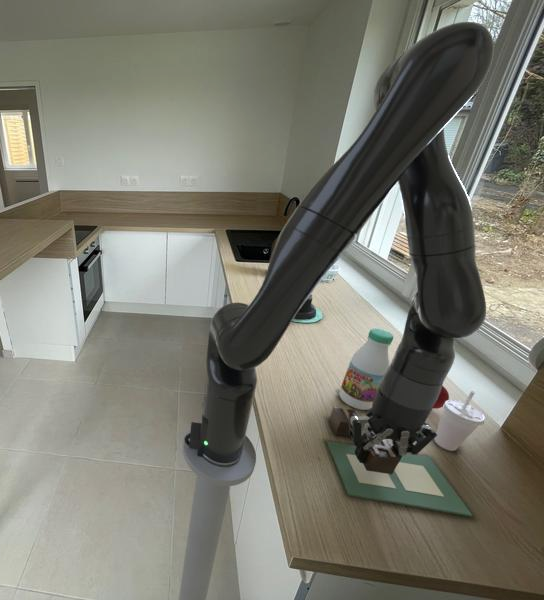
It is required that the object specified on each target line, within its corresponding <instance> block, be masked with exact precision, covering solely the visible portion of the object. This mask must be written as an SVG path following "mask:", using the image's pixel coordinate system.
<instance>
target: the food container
mask: <svg viewBox="0 0 544 600" xmlns="http://www.w3.org/2000/svg"><path fill="white" fill-rule="evenodd" d="M340 270H341V268H340V267H339V266H338V265H335V264H334V265H333V266H332V267H331V268H330V270H329V271H328V272H327V273H326V275H325V276H324V277H323V279H334V278H336V277H337V274H338V273H339V271H340ZM323 279H322V280H321V281H320V282H323V283H324V282H325V283H331V282H334V280H335V279H334V280H323Z"/></svg>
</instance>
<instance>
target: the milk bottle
mask: <svg viewBox="0 0 544 600" xmlns="http://www.w3.org/2000/svg"><path fill="white" fill-rule="evenodd" d="M393 340H394V334H393V333H391V332H390V331H388V330H385V329H381V328H371V329H370V330H369V332H368V336H367V340H366V342H365V343H364V344H363V345H362V346H361V347H360V348H358V349H357V350H356V351H355V352H354V353H353V355H352V357H351V359H350V362H349V363H348V367H347V369H346V372H345V375H344V378H343V380H342V383H341V385H340V388H339V392H338V394H339V398H340V400H342V401H343V402H344V403H345V404H346V405H348V406H350V407H351V408H354V409H356V410H362V411H367V410H371V409H372V403H373V400H374V397H375V395H376V393H377V390H378V388H379V385H380V383H381V381H382V378H383V376H384V374H385V372H386V370H387V369H388V367H389V366H390V364H391V361H390V356H389V347H390V346H391V345H392V342H393Z"/></svg>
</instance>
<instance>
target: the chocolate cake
mask: <svg viewBox="0 0 544 600" xmlns="http://www.w3.org/2000/svg"><path fill="white" fill-rule="evenodd" d="M312 302H313V293H311V295H310V296H309V297H308V299H307V300H306V301H305V303H304V304H303V305H302V307H301V308H300V309H299V311H298V312H297V314H296V315H295V317H294V318H293V320H292V322H295V323H302V324H303V323H305V324H306V323H316V322H319V321H320V320H322V318H323V317H324V315H323V313H322V311H321V310H320V309H319V308H318V307H315V306H314V305H313V303H312Z"/></svg>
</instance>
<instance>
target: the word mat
mask: <svg viewBox="0 0 544 600" xmlns="http://www.w3.org/2000/svg"><path fill="white" fill-rule="evenodd" d="M326 445H327V448H328V449H329V452H330V454H331V455H330V456H331V457H332V459H333V462H334V464H335V467H336V469H337V471H338V474H339V477H340V478H341V481H342V484H343V486H344V489H345V491H346V493H347V496H349V497H355V498H360V499H367V500H372V501H378V502H382V503H383V502H384V503H389V504H394V505H401V506H406V507H413V508H419V509H423V510H430V511H435V512H441V513H447V514H451V515H452V514H453V515H459V516H463V517H470V518H472V517H473V514H472V512H471V511H470V509H469V508H468V507H467V506H466V505H465V503H464V502H463V500H462V499H461V497H460V496H459V495H458V493H457V492H456V491H455V489H454V488H453V487H452V485H451V484H450V482H449V481H448V479H446V477H445V475H444V474H443V473H442V472H441V470H440V468H438V466H437V465H436V463H435V462H434V460H433V459H432V458H431V457H430V456H426V455H421V454H419V455H418V454H416V455H413V454H411V453H406V455H403V456H402V458H401V460H400V461H399V463H398V464H397V466H396V468H395V470H394V472H393V474H386V473H379V472H373V471H367V470H366V468H365V467H364V465H363V463H360V462H359V460H358V459H357V457H356V455H355V449H356V447H357V446H355V445H354V444H348V443H342V442H341V443H340V442H336V441H335V442H334V441H326Z"/></svg>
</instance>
